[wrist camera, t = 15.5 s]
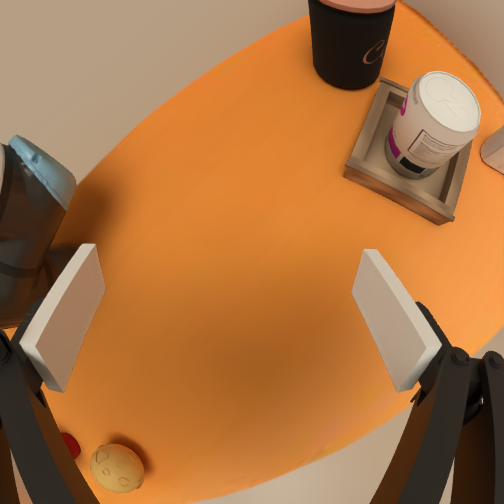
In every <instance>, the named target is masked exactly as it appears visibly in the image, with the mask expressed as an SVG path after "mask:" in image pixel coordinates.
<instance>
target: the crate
mask: <svg viewBox="0 0 504 504" xmlns="http://www.w3.org/2000/svg"><path fill="white" fill-rule="evenodd" d="M379 82H380V85H379V88H378V90H377V93H376V95H375V98H374V101H373V103H372V106H371V108H370V111H369V113H368V116H367V118H366V121H365V123H364V125H363V128H362V130H361V133H360V135H359V138H358V140H357V142H356V145H355V147H354V150H353V152H352V154H351V157H350V159H349V161H348V160H347V161H346V164H345V166H346V169H345V173H344V176H343V177H345V178H347V179H349V180H351V181H353V182H356V183H358V184H360V185H362V186H364V187H366V188H368V189H370V190H372V191H374V192H376V193H378V194H380V195H382V196H384V197H386V198H388V199H390V200H392V201H394V202H396V203H398V204H400V205H402V206H403V207H405V208H407V209H409V210H411V211H413V212H415V213H416V214H418V215H420V216H422V217H424V218H425V219H427V220H429V221H431V222H433V223H434V224H436V225H438V226H439V225H441V224H444V223H447V222H450V221H451V222H453V221H454V219H455V217H454V216H453V214H454V211H455V207H456V204H457V201H458V197H459V194H460V190H461V187H462V183H463V179H464V175H465V171H466V167H467V163H468V159H469V154H470V149H471V145H472V140H473V139H472V140H471V141H469V142H468V143H467V144H466V145H465V146H464V147H463V148H462V149H460V150H459V151H458V152H457V153H456V154H455V155H454V156H452V157H451V158H450V159H449V160H448V161H447V162H445V163H444V164H443V165H442V166H441V167H440V168H438V169H437V170H436V171H435V172H434V173H433V174H431V175H430V176H429V177H426V178H423V179H411V178H408V177H406V176H404V175H402V174H400V173H399V172H398V171H397V170H396V169H395V168H394V167H393V166H392V165H391V163H390V161H389V160H388V158H387V155H386V151H385V139H386V137H387V135H388V133H389V131H390V129H391V127H392V125H393V123H394V121H395V119H396V117H397V115H398V113H399V111H400V108H401V106H402V104H403V102H404V100H405V98H406V96H407V94H408V92H409V90H410V89H408V88H406V87H404V86H402V85H399V84H397V83H395V82H393V81H391V80H388V79H386V78H384V77H381V78H380V81H379Z"/></svg>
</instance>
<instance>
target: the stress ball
mask: <svg viewBox="0 0 504 504" xmlns="http://www.w3.org/2000/svg"><path fill="white" fill-rule="evenodd" d="M90 468H91V472H92V474H93V476H94V478H95V480H96V481H97V482H98V483H99V484H100V485H101V486H102V487H104V488H105V489H107V490H109V491H111V492H115V493H128V492H131V491H133V490H135V489H138V488H139V487H140V486H141V485H142V484H143V481H144V467H143V464H142V462H141V460H140V458H139V457H138V456H137V455H136V453H134V452H133V451H132V450H131V449H129V448H127V447H125V446H123V445H119V444H115V443H108V444H106V445H101V446H99V447H98V449H97V450H96V451H95V452H94V453H93V455H92V457H91V461H90Z"/></svg>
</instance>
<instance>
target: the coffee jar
mask: <svg viewBox="0 0 504 504" xmlns="http://www.w3.org/2000/svg"><path fill="white" fill-rule="evenodd" d="M396 1H397V0H308V4H309V14H310V25H311V37H312V51H313V64H314V67H315V69H316V70H317V72H318V74H319V75H320V76H322V77H323V78H324V79H325V80H326V81H328V82H329V83H331V84H333V85H335V86H338V87H341V88H345V89H357V88H362V87H366V86H367V85H369V84H371V83H373V82H374V81H375V80H376V78H377V77H378V76H379V73H380V69H381V66H382V62H383V58H384V54H385V50H386V46H387V42H388V38H389V34H390V30H391V25H392V21H393V17H394V11H395V3H396Z"/></svg>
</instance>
